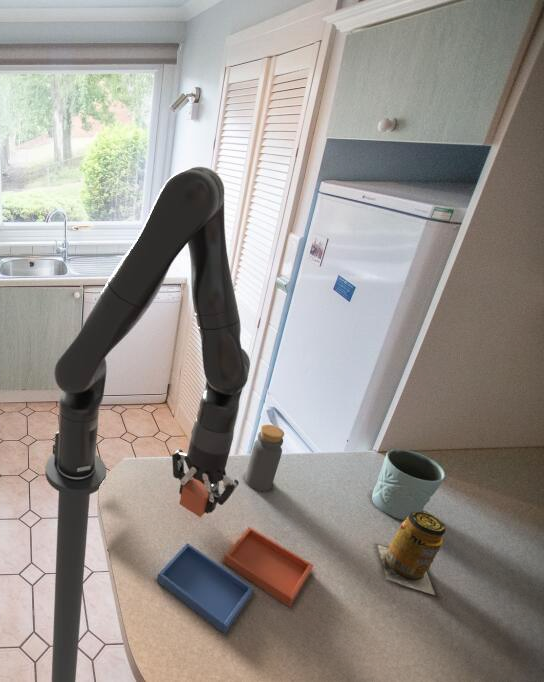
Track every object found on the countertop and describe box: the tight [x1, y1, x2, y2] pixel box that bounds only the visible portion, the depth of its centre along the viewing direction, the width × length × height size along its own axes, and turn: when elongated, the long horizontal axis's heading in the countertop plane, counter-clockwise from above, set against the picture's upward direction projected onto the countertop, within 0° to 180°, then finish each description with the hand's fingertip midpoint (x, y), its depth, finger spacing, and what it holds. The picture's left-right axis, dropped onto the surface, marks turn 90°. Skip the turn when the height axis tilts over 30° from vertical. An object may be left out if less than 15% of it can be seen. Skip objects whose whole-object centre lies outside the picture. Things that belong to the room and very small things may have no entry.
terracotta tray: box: [223, 526, 314, 608], centre depth 86 cm, size 12×10×2 cm
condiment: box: [377, 511, 447, 596], centre depth 84 cm, size 7×8×12 cm
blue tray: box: [156, 542, 255, 635], centre depth 82 cm, size 13×10×2 cm
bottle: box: [244, 424, 285, 492], centre depth 104 cm, size 6×6×15 cm
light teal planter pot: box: [371, 448, 446, 521], centre depth 98 cm, size 10×10×12 cm
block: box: [179, 477, 208, 518], centre depth 97 cm, size 5×5×5 cm
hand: (195, 503), depth 97 cm, fingers closed on block, 5 cm apart
